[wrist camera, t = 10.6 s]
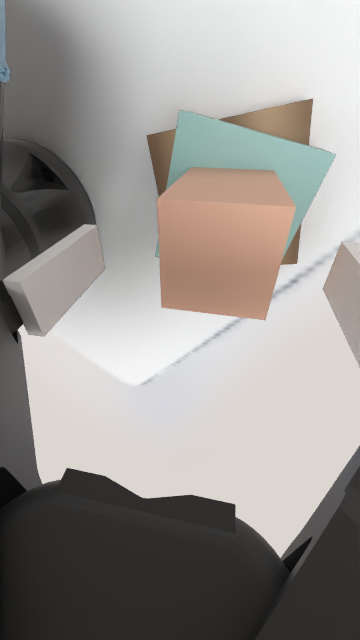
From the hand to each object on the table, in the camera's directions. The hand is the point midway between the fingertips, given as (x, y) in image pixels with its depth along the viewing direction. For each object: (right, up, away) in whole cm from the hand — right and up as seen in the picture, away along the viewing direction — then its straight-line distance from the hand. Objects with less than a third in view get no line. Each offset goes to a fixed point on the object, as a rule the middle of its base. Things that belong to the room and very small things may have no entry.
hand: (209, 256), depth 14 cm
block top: (+3, +7, +10) cm, 13 cm away
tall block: (+2, +5, +6) cm, 8 cm away
